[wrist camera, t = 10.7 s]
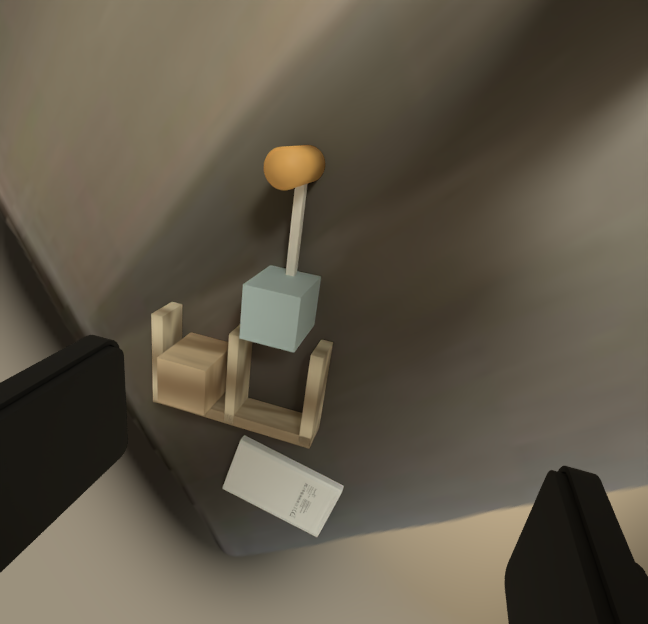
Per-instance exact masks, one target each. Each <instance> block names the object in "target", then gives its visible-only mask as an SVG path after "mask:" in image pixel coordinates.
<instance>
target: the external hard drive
mask: <svg viewBox="0 0 648 624" xmlns="http://www.w3.org/2000/svg"><path fill="white" fill-rule="evenodd" d="M343 487H344V486H343V485H341V484H339V483H337V482H335V481H333V480H331V479H329V478H327V477H326V476H324V475H322V474H320V473H318V472H316V471H314V470H312V469H310V468H308V467H306V466H304V465H302V464H300V463H298V462H296V461H294V460H292V459H290V458H288V457H286V456H284V455H283V454H281V453H279V452H277V451H275V450H273V449H271V448H269V447H267V446H265V445H263V444H261V443H259V442H257V441H255V440H253V439H251V438H249V437H247V436H245V435H244V436H243V437H242V439H241V440H240V443H239V445H238V448H237V450H236V453H235V456H234V458H233V461H232V464H231V466H230V469H229V472H228V474H227V477H226V480H225V482H224V485H223V489H224V490H226V491H228V492H230V493H232V494H234V495H236V496H238V497H240V498H242V499H244V500H245V501H247V502H249V503H251V504H253V505H255V506H257V507H259V508H261V509H263V510H265V511H267V512H269V513H271V514H273V515H275V516H277V517H278V518H280V519H282V520H284V521H286V522H288V523H290V524H292V525H294V526H296V527H298V528H300V529H302V530H304V531H306V532H308V533H309V534H311V535H313V536H315V537H318V535H319V533H320V531H321V530H322V528H323V526H324V524H325V522H326V520H327V518H328V517H329V515H330V513H331V511H332V509H333V508H334V506H335V504H336V502H337V500H338V499H339V497H340V495H341V493H342V491H343Z"/></svg>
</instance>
